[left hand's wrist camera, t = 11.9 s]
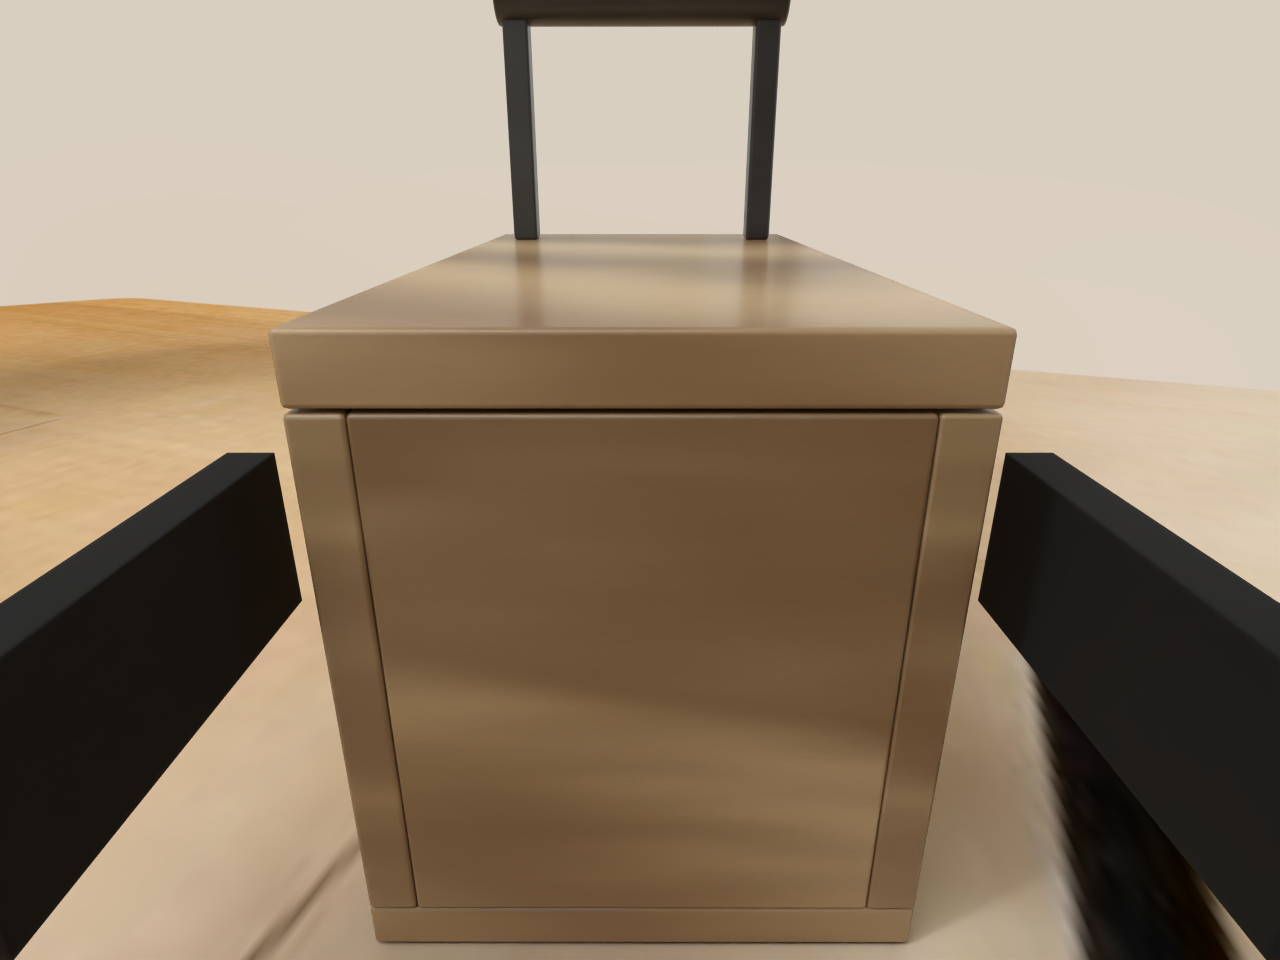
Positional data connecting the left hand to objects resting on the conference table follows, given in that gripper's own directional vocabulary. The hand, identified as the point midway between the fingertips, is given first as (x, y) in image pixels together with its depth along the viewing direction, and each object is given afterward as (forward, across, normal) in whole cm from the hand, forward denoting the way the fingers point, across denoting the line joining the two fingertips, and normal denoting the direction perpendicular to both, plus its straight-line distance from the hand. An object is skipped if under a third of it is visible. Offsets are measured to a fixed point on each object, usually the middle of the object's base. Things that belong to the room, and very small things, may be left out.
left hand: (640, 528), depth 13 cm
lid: (+7, 0, +3) cm, 7 cm away
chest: (+6, 0, -7) cm, 9 cm away
